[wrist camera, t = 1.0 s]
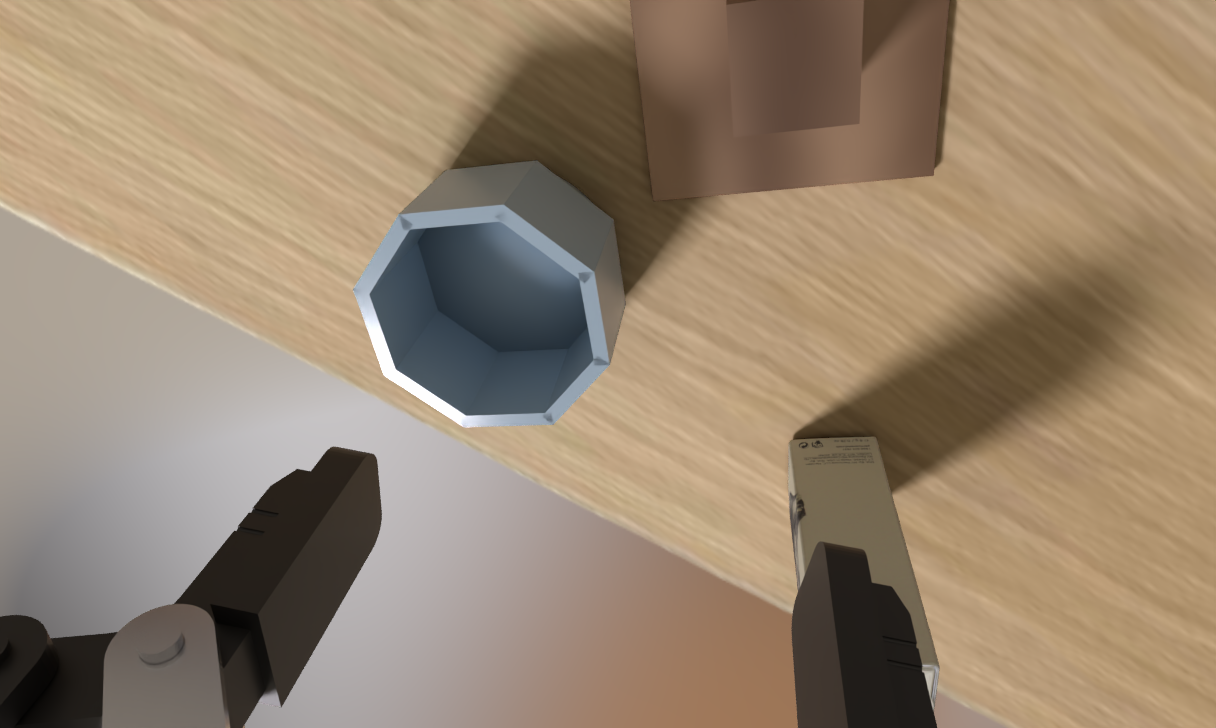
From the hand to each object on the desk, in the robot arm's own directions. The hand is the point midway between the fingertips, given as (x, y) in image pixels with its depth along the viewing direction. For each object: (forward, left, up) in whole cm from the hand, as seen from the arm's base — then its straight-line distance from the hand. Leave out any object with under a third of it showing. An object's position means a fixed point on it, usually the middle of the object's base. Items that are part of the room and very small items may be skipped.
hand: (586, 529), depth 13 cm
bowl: (+7, +3, -20) cm, 22 cm away
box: (-7, +16, -21) cm, 27 cm away
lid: (-5, -5, -21) cm, 22 cm away
